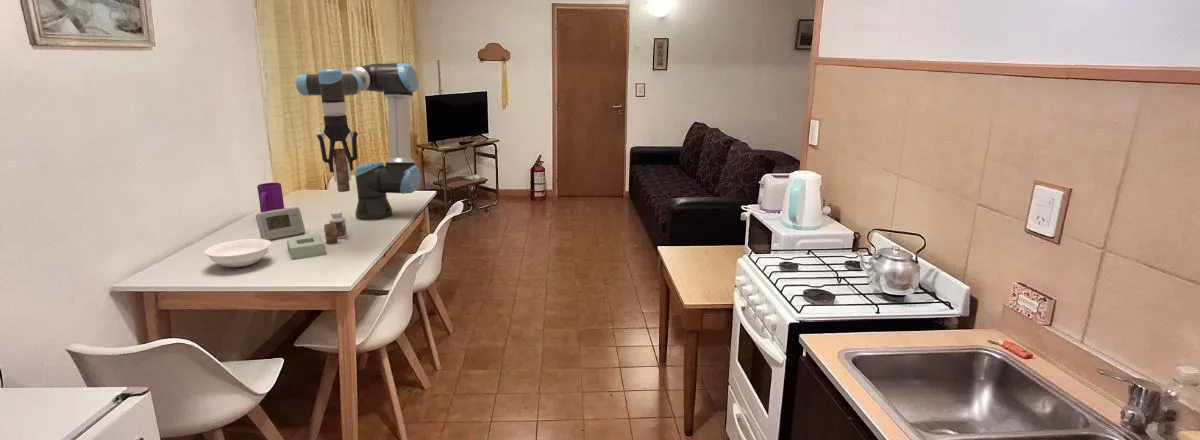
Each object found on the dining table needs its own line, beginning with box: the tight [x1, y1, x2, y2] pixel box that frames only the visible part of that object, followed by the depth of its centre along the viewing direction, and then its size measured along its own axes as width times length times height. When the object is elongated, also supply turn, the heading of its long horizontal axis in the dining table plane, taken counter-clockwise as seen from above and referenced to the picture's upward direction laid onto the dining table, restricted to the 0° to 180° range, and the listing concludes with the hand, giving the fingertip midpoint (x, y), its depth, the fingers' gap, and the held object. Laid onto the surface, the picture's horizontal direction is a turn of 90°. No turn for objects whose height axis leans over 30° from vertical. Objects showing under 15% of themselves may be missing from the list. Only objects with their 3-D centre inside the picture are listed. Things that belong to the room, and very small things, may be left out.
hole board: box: [286, 233, 327, 260], centre depth 228 cm, size 11×14×4 cm
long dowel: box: [333, 147, 351, 193], centre depth 227 cm, size 4×4×15 cm
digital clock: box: [255, 206, 306, 241], centre depth 247 cm, size 16×9×11 cm, turn 122°
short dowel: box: [323, 222, 339, 245], centre depth 238 cm, size 4×4×7 cm
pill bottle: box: [329, 210, 348, 239], centre depth 245 cm, size 5×5×10 cm
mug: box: [257, 182, 285, 213], centre depth 270 cm, size 9×16×15 cm, turn 8°
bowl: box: [203, 238, 272, 268], centre depth 214 cm, size 20×20×6 cm
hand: (342, 180), depth 228 cm, fingers closed on long dowel, 4 cm apart
